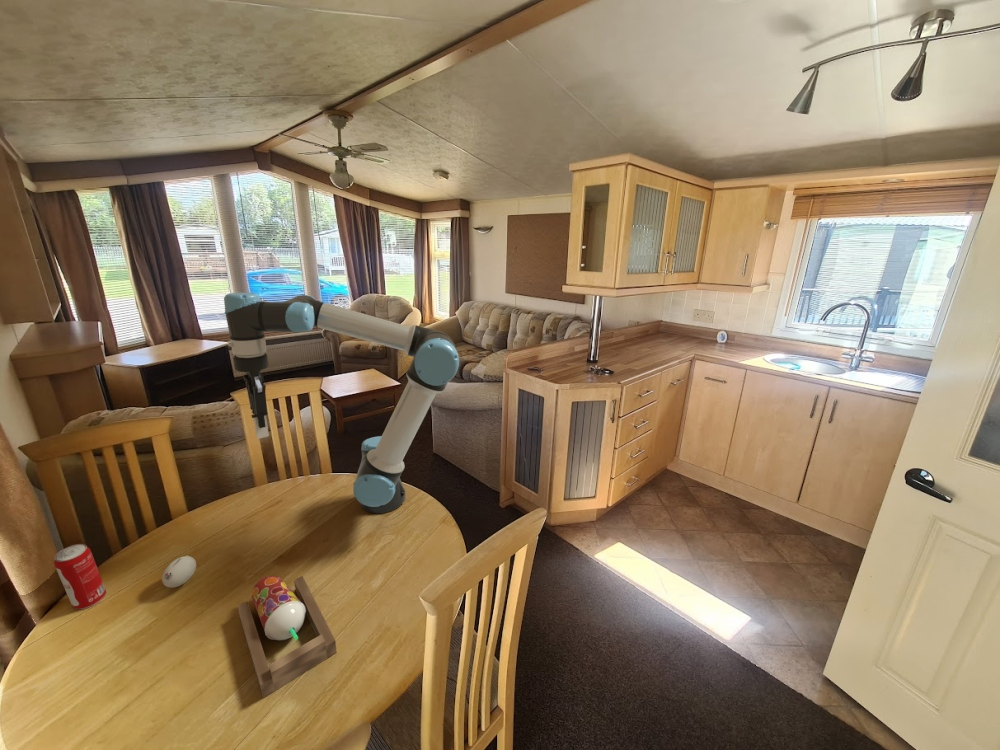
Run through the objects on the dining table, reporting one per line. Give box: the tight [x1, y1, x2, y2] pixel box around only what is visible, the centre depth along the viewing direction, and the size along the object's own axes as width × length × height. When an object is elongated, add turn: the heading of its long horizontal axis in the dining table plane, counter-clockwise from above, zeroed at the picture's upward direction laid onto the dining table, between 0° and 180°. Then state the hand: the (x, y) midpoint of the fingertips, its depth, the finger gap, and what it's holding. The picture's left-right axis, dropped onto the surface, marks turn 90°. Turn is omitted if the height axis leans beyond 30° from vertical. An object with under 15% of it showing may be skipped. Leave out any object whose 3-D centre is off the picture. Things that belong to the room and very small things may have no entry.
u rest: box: [237, 575, 338, 699], centre depth 87 cm, size 14×22×5 cm, turn 42°
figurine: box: [161, 554, 197, 588], centre depth 98 cm, size 8×6×7 cm
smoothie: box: [251, 575, 306, 641], centre depth 89 cm, size 8×8×20 cm
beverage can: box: [53, 543, 107, 610], centre depth 91 cm, size 6×6×15 cm
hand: (262, 436), depth 108 cm, fingers closed
